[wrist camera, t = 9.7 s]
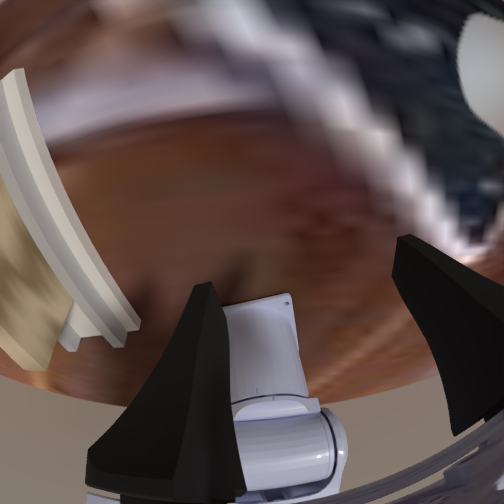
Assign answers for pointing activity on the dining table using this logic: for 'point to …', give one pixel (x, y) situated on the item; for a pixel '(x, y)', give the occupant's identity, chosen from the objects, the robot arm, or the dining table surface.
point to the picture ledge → (57, 224)
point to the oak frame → (27, 293)
